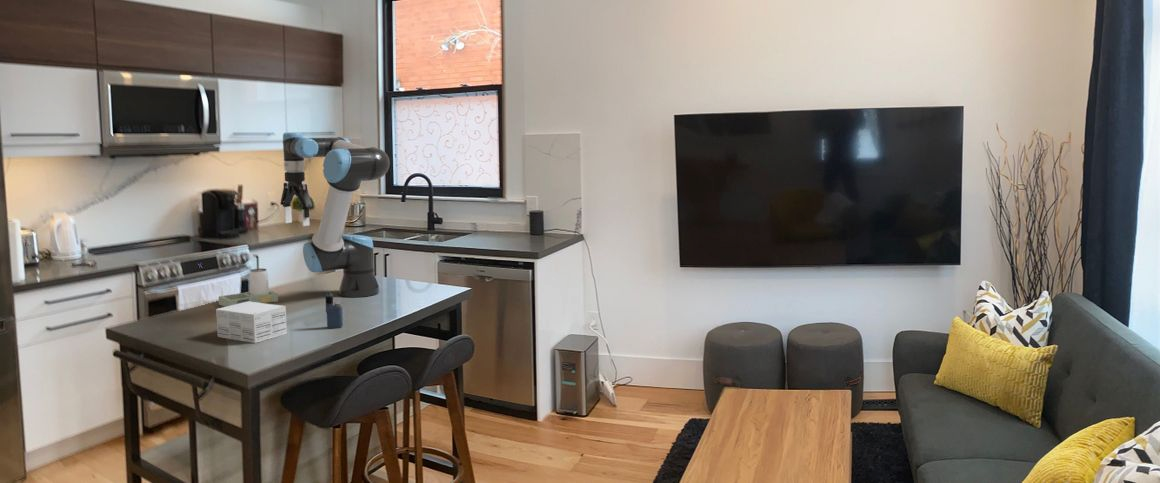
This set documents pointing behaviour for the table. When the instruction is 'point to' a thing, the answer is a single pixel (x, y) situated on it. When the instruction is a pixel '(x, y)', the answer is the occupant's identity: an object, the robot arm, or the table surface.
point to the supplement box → (251, 321)
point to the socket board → (247, 298)
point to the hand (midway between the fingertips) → (297, 224)
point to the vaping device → (333, 312)
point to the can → (259, 282)
